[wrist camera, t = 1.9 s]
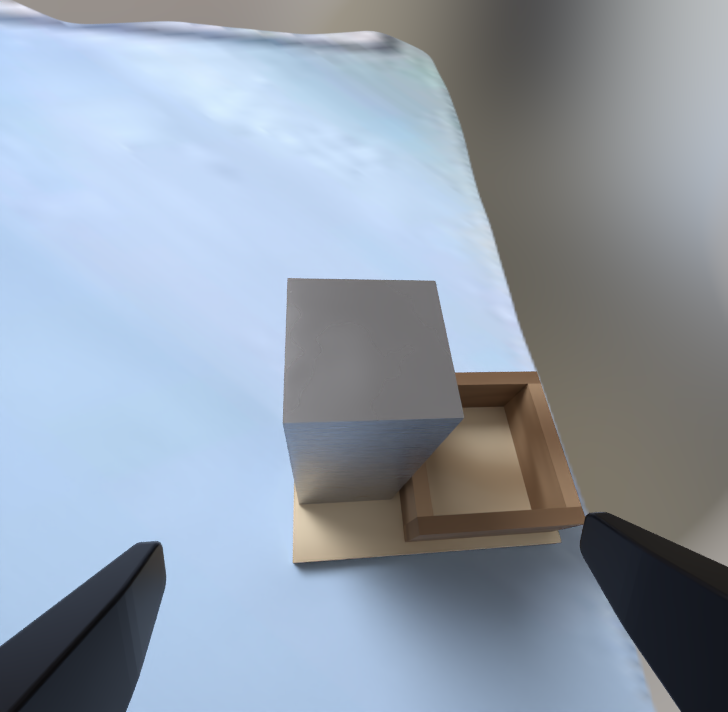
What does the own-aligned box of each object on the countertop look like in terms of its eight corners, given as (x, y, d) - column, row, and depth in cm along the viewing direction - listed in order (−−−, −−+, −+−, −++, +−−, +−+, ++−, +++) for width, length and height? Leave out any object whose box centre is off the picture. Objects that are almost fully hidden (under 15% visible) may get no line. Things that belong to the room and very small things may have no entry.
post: (391, 499, 19) (464, 417, 10) (299, 504, 19) (282, 422, 9) (382, 414, 22) (435, 281, 12) (299, 416, 21) (287, 278, 11)
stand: (555, 543, 20) (600, 535, 17) (293, 563, 18) (288, 558, 15) (511, 391, 24) (541, 363, 21) (296, 396, 22) (293, 365, 19)
